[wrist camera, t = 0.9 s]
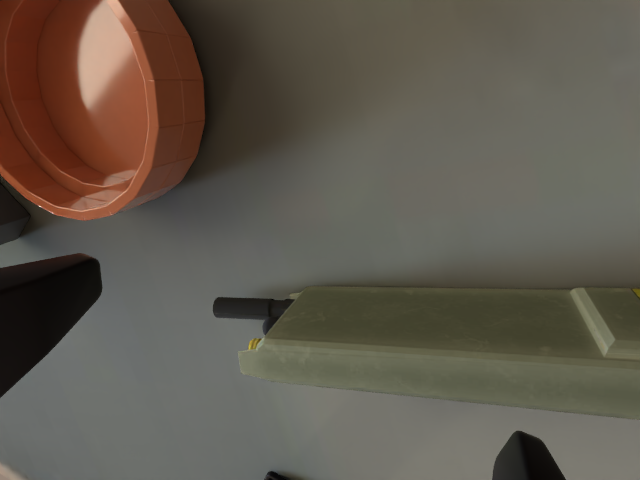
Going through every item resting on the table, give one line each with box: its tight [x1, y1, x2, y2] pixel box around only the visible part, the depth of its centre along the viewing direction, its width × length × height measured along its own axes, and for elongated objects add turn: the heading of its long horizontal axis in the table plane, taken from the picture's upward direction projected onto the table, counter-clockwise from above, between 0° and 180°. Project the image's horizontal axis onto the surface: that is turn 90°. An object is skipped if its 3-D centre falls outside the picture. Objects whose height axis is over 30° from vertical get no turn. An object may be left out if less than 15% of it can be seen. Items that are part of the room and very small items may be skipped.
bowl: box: [0, 0, 205, 221], centre depth 22 cm, size 13×13×4 cm
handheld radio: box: [213, 286, 640, 420], centre depth 20 cm, size 7×3×25 cm
